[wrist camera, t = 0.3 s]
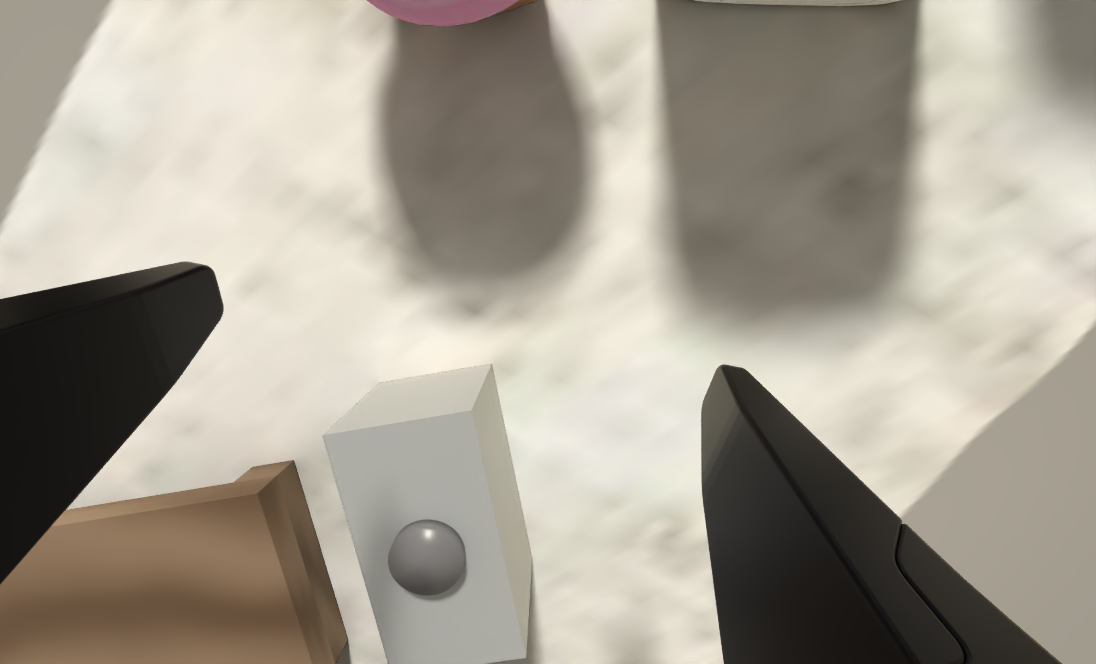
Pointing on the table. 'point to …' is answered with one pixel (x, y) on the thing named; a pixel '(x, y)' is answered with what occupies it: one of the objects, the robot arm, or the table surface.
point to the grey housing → (436, 517)
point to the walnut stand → (178, 581)
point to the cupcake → (445, 10)
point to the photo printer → (806, 2)
